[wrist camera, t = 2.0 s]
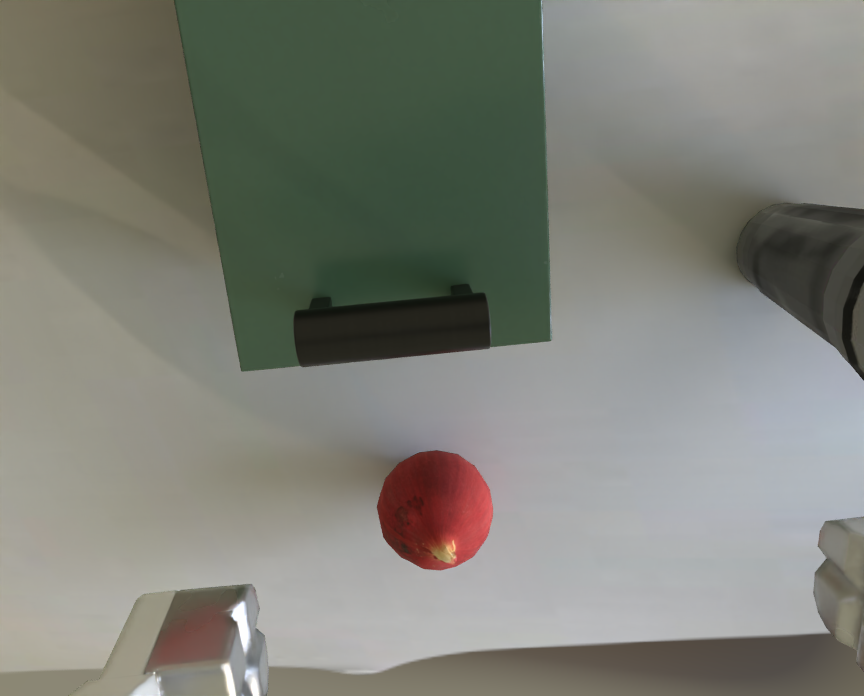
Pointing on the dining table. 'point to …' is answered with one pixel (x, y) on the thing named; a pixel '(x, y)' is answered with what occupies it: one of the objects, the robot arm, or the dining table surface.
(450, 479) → the onion
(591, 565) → the dining table surface
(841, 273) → the beverage cup
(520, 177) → the green box lid
